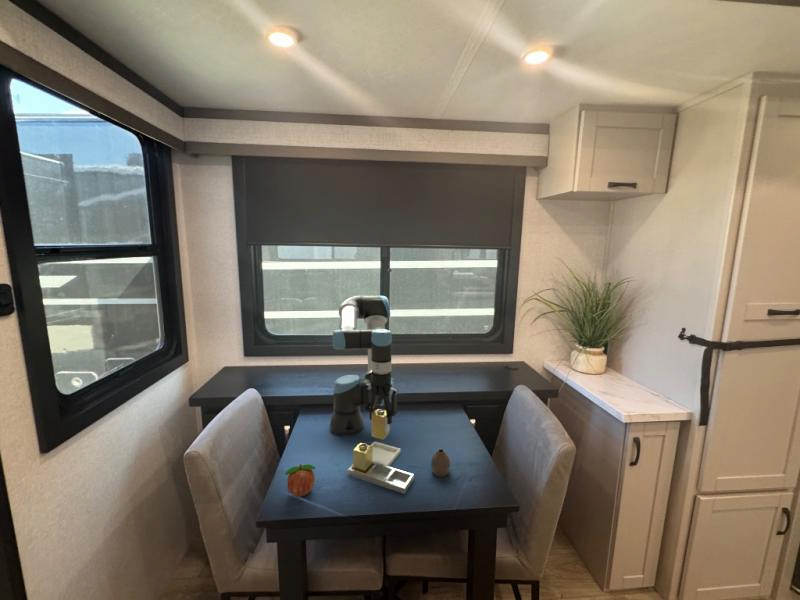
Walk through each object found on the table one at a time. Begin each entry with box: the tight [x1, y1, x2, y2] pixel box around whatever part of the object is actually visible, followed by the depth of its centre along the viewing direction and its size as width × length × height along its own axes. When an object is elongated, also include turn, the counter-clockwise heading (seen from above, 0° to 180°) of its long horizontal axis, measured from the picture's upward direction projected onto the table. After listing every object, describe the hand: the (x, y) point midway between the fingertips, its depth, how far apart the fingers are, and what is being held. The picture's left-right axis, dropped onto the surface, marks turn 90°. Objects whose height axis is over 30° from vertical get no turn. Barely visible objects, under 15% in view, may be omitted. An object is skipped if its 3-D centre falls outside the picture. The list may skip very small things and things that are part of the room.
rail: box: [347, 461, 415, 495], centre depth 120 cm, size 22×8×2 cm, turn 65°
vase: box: [430, 448, 451, 477], centre depth 123 cm, size 7×7×9 cm
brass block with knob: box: [352, 442, 373, 473], centre depth 123 cm, size 5×5×10 cm
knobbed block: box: [371, 408, 390, 440], centre depth 131 cm, size 5×5×10 cm
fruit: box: [284, 464, 316, 498], centre depth 112 cm, size 9×10×10 cm
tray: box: [369, 441, 402, 467], centre depth 133 cm, size 12×12×2 cm
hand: (380, 429), depth 131 cm, fingers closed on knobbed block, 5 cm apart
